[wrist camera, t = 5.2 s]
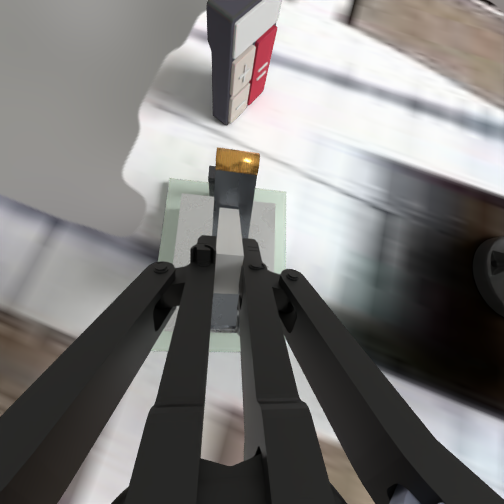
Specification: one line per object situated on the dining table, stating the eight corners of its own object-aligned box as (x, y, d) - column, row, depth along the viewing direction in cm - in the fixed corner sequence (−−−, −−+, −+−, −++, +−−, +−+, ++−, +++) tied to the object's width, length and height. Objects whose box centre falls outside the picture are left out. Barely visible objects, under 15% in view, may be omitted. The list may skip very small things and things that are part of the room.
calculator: (229, 129, 38) (237, 24, 24) (209, 114, 38) (205, 0, 24) (265, 92, 41) (291, -21, 27) (246, 78, 41) (263, -42, 27)
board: (281, 350, 32) (284, 352, 30) (148, 348, 29) (145, 351, 28) (283, 196, 37) (286, 191, 36) (171, 183, 34) (169, 177, 33)
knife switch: (263, 328, 30) (278, 337, 23) (173, 326, 29) (158, 334, 21) (267, 199, 35) (281, 172, 28) (189, 190, 33) (181, 159, 26)
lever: (234, 322, 25) (234, 334, 24) (207, 322, 25) (206, 333, 23) (257, 152, 17) (260, 154, 15) (217, 146, 16) (216, 148, 15)
